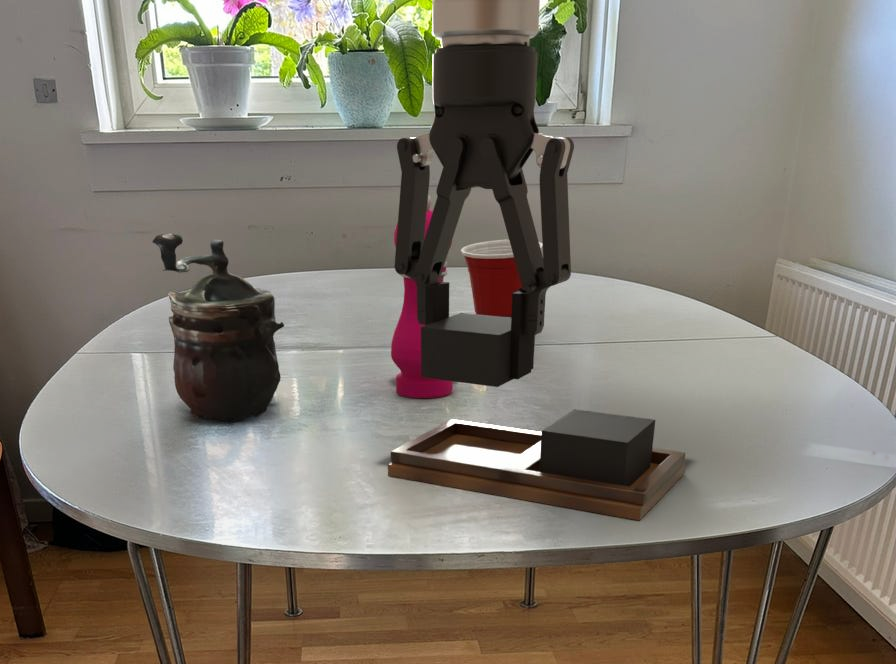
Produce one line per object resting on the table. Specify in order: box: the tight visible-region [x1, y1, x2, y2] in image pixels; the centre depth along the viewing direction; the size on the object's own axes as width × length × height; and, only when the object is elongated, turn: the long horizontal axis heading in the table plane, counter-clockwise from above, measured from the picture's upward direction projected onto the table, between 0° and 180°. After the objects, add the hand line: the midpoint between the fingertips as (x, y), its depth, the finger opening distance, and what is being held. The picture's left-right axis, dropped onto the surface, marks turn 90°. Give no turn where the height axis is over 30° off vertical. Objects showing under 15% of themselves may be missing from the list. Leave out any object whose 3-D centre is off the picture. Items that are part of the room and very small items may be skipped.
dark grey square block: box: [421, 312, 536, 388], centre depth 78 cm, size 7×7×4 cm
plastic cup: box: [460, 239, 543, 318], centre depth 127 cm, size 11×11×12 cm
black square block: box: [540, 408, 656, 487], centre depth 76 cm, size 7×7×4 cm
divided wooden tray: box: [387, 418, 687, 521], centre depth 80 cm, size 22×12×2 cm, turn 60°
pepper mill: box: [390, 194, 454, 399], centre depth 100 cm, size 7×7×20 cm
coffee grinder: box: [152, 233, 285, 424], centre depth 93 cm, size 13×15×18 cm
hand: (477, 369), depth 78 cm, fingers closed on dark grey square block, 7 cm apart
